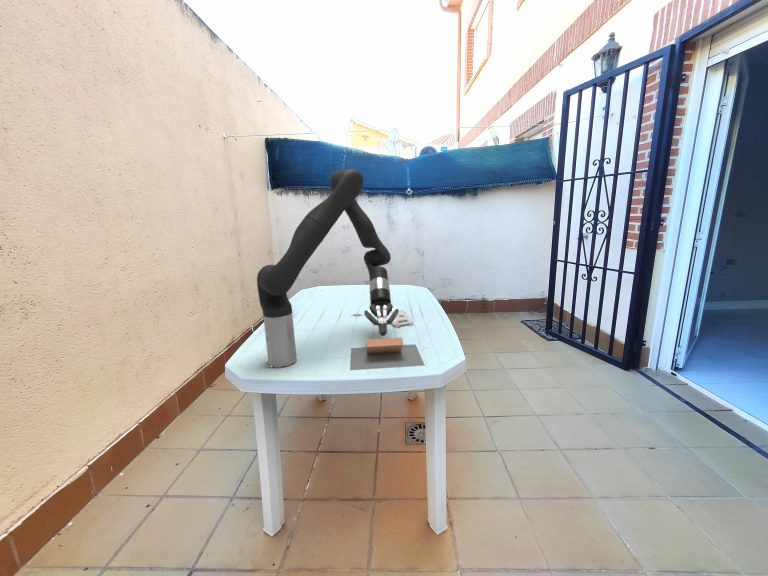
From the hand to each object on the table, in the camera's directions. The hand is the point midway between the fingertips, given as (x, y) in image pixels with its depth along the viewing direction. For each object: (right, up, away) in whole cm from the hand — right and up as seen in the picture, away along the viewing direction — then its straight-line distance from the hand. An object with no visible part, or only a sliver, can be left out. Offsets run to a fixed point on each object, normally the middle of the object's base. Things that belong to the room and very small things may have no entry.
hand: (383, 334), depth 119 cm
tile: (0, -6, +2) cm, 6 cm away
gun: (+8, +1, +38) cm, 38 cm away
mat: (+1, -8, -1) cm, 8 cm away
